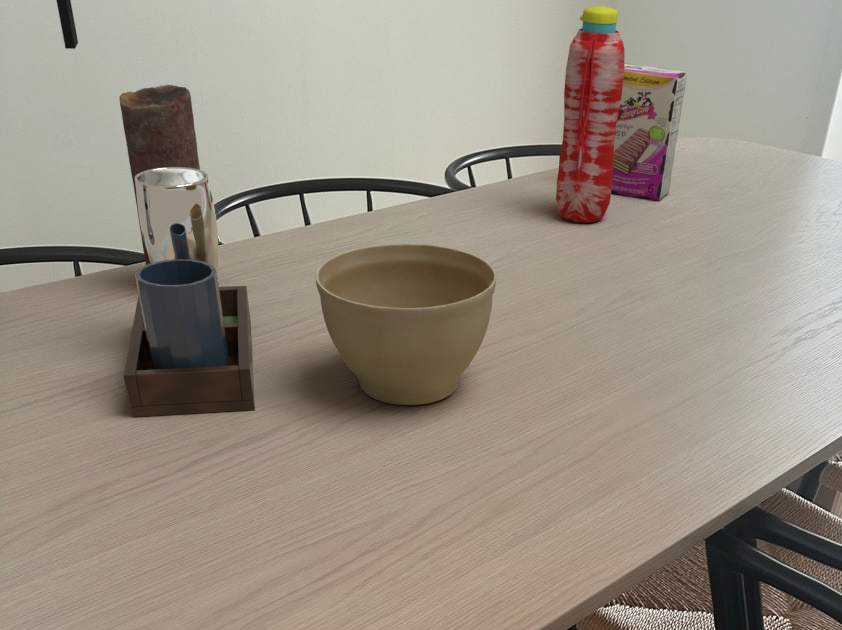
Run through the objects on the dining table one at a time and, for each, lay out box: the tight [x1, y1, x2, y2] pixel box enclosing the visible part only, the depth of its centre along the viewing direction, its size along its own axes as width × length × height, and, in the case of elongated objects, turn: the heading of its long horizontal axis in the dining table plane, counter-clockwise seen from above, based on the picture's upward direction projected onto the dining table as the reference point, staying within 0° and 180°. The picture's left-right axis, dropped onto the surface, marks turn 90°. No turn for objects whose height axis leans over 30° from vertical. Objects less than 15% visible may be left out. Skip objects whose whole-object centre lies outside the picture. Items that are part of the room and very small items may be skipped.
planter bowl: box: [314, 242, 497, 406], centre depth 92 cm, size 16×16×11 cm
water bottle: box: [555, 5, 626, 224], centre depth 131 cm, size 12×8×25 cm, turn 158°
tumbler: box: [134, 259, 230, 370], centre depth 89 cm, size 7×7×10 cm
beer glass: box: [134, 167, 225, 323], centre depth 95 cm, size 7×7×15 cm
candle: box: [119, 84, 201, 265], centre depth 107 cm, size 8×7×20 cm
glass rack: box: [123, 285, 256, 418], centre depth 96 cm, size 11×21×4 cm, turn 11°
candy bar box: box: [611, 62, 688, 202], centre depth 143 cm, size 11×5×16 cm, turn 65°
